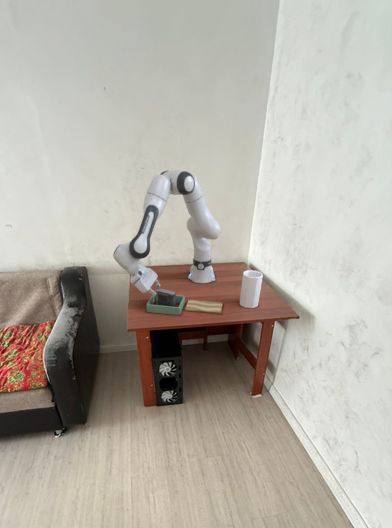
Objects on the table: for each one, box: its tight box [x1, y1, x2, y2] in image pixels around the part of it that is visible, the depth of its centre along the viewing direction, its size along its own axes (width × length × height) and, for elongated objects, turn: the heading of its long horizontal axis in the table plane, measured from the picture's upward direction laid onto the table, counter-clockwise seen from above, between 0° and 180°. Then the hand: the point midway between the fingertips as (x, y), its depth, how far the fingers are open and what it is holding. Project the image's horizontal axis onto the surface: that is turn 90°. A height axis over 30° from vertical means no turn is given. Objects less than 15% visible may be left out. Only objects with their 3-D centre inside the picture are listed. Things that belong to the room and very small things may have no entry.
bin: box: [145, 294, 186, 316], centre depth 164 cm, size 14×18×4 cm
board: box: [184, 299, 224, 315], centre depth 166 cm, size 12×20×1 cm, turn 81°
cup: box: [239, 269, 264, 309], centre depth 165 cm, size 11×11×18 cm
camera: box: [155, 288, 177, 307], centre depth 162 cm, size 11×6×10 cm, turn 64°
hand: (158, 291), depth 160 cm, fingers open, 8 cm apart
